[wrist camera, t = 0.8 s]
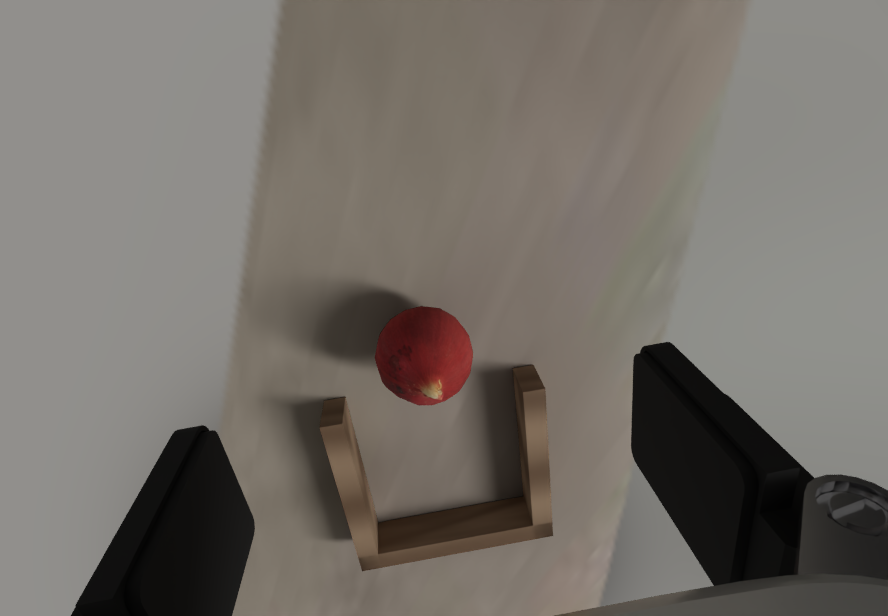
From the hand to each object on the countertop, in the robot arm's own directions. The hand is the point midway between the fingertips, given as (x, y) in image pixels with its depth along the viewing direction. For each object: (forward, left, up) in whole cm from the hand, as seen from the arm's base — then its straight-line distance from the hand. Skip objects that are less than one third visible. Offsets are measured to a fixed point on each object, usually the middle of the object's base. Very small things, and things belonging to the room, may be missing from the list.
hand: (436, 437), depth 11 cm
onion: (+8, 0, -22) cm, 23 cm away
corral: (+20, 0, -21) cm, 29 cm away
